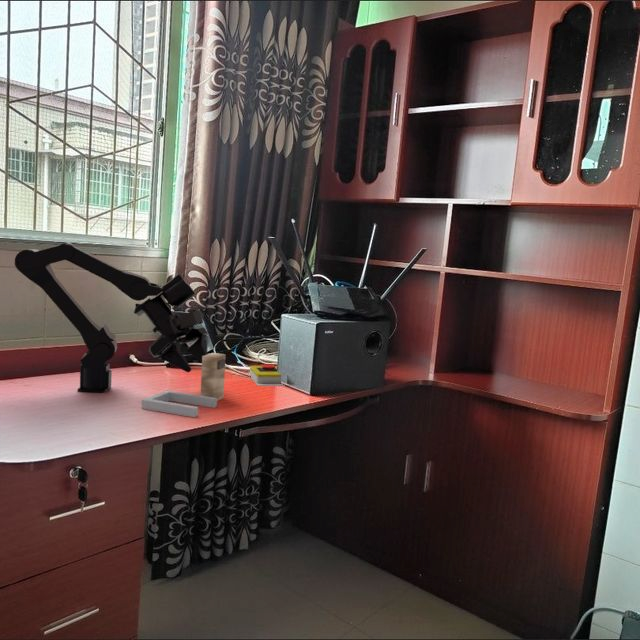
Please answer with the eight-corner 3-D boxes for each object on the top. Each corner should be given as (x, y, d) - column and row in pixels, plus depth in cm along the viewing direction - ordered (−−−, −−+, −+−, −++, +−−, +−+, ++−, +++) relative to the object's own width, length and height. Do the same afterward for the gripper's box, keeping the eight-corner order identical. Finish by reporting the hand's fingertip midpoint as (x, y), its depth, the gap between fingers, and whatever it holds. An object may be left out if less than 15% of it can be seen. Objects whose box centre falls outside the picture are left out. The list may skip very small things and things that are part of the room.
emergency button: (278, 360, 184) (291, 372, 170) (277, 375, 185) (290, 387, 171) (248, 360, 182) (258, 372, 167) (247, 375, 182) (257, 387, 168)
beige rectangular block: (200, 400, 149) (202, 356, 148) (210, 395, 154) (212, 352, 153) (215, 403, 148) (217, 358, 147) (225, 398, 153) (227, 354, 152)
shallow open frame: (141, 408, 139) (141, 399, 139) (167, 398, 149) (167, 390, 149) (194, 417, 135) (194, 408, 135) (216, 406, 145) (217, 398, 145)
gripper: (162, 300, 142) (202, 353, 140) (203, 296, 160) (238, 343, 158) (132, 330, 146) (170, 382, 143) (175, 322, 163) (209, 369, 161)
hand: (199, 368), depth 151 cm, fingers open, 9 cm apart
